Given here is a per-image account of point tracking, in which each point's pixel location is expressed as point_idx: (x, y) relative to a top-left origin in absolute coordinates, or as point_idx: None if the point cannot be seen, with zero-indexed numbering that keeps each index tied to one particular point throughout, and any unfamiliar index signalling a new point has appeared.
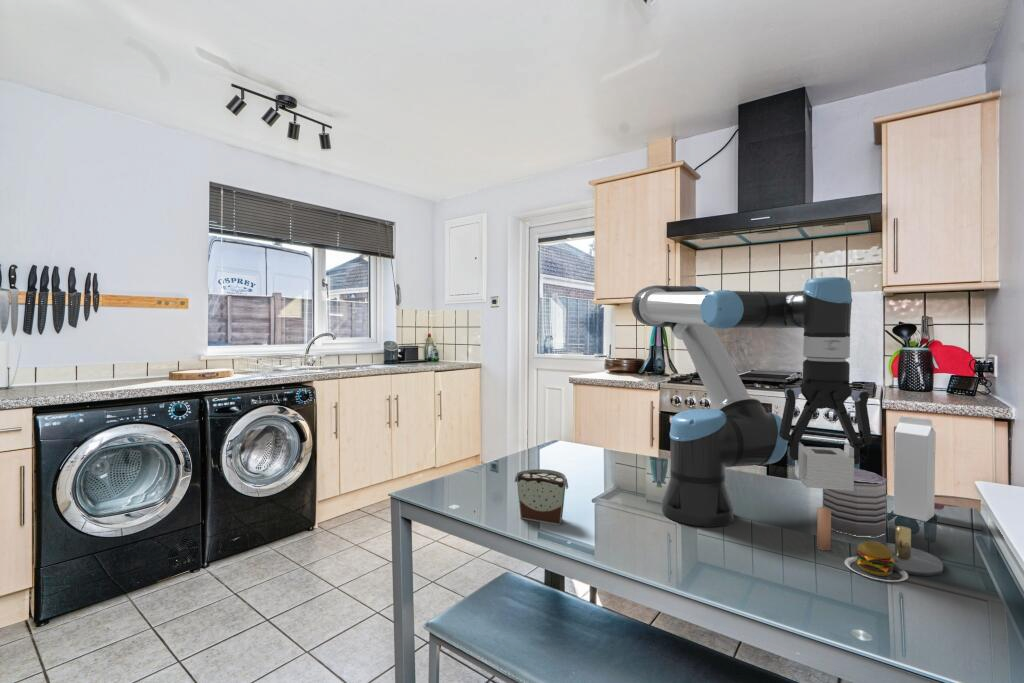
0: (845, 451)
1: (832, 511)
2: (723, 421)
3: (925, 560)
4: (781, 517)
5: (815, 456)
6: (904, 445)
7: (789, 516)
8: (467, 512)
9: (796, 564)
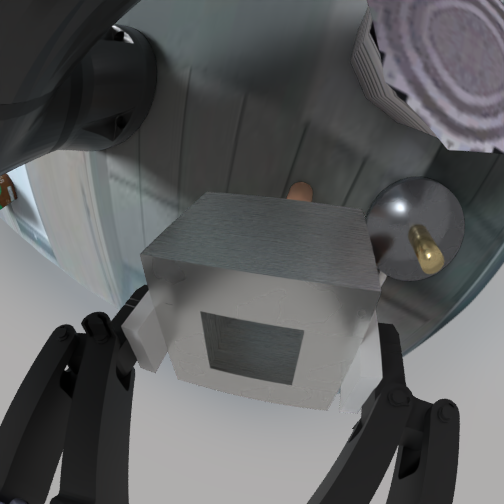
0: (354, 361)
1: (367, 82)
2: None
3: (439, 248)
4: (261, 30)
5: (203, 384)
6: None
7: (283, 19)
8: None
9: None
